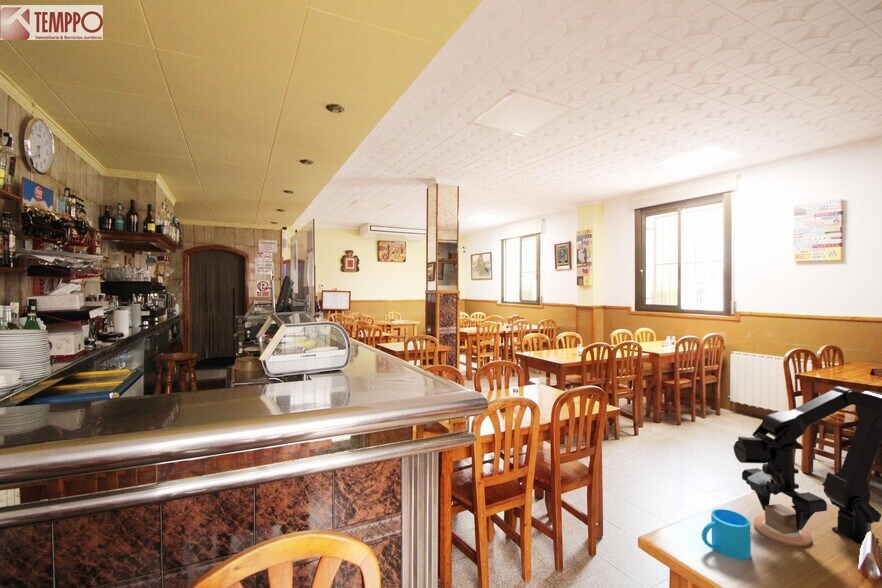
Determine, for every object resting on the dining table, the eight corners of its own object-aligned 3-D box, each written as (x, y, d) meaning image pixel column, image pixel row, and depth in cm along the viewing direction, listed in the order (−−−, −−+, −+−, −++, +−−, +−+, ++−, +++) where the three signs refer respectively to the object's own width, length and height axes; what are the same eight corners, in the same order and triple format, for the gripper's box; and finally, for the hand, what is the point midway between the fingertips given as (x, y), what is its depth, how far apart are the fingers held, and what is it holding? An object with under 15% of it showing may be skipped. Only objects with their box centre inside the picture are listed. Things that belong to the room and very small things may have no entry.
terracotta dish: (778, 517, 115) (778, 512, 115) (824, 543, 103) (824, 538, 103) (742, 522, 113) (742, 517, 113) (785, 549, 101) (785, 544, 101)
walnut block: (780, 521, 111) (780, 503, 111) (799, 532, 106) (798, 513, 106) (765, 523, 110) (764, 505, 110) (783, 534, 105) (782, 515, 105)
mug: (732, 537, 106) (731, 507, 106) (759, 557, 98) (758, 525, 98) (691, 541, 105) (690, 511, 105) (715, 562, 97) (714, 530, 97)
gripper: (725, 452, 116) (726, 504, 116) (790, 482, 97) (791, 545, 97) (757, 448, 117) (758, 500, 118) (828, 477, 99) (829, 539, 99)
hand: (781, 519), depth 108 cm, fingers open, 9 cm apart
